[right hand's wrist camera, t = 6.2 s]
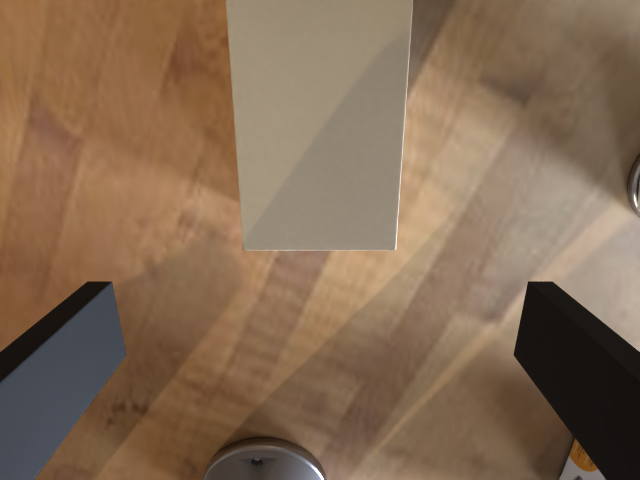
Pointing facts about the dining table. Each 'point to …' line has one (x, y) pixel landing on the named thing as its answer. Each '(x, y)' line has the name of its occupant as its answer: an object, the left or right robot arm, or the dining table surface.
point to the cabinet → (319, 120)
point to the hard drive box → (580, 466)
